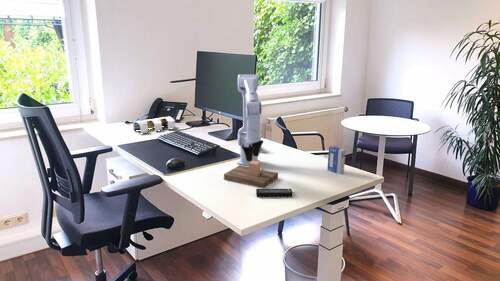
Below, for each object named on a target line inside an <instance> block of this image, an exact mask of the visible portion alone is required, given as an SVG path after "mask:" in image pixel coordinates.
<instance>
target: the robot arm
mask: <svg viewBox="0 0 500 281" xmlns="http://www.w3.org/2000/svg"><path fill="white" fill-rule="evenodd" d="M259 80H260V78H259V75H258V74H238V75H237V92H239V93H241V96H242V119H243V120H242V123H243V126H241V128H239V129H238V130H237V145H238V146H240V149H239V150H240V158H239V159H240V160H239V161H237V162H236V164H238V165H241V166H246V167H249V163H250V162H251V161H258V162H260V160H259V159H258V158H259V156H260V152H261V148H262V145H263V143H264V140H262V134H260V133H261V132H260V130H261V129H260V128H261V126H260V125H261V115H262V106H263V105H262V102H261V101H260V100H259V99H260V98H259V95H258V93H257V90H258V89H259V82H260V81H259Z"/></svg>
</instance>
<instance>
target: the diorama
mask: <svg viewBox="0 0 500 281" xmlns="http://www.w3.org/2000/svg"><path fill="white" fill-rule="evenodd" d="M138 118H139V120H136V121H134V122H133V123H132V127H133V128H132V129H133V132H134V131H136V130H141V131H140V134H141V133H147V132H148V133H149V130H148V128H154V127H155V129H154V131H158V130H161V131H162V130H163V128H162V126H168V127H167V130H168V129H170V128H174V129H175V128H176V120H175V119H174V118H173V117H171V116H162V117H158V118H157V117H156V118H151V119H146V118H147V116H146V114H145V113H143V115H142V116H140V117H138ZM170 130H171V129H170ZM148 133H147V134H148ZM140 134H139V135H140ZM141 135H142V134H141Z"/></svg>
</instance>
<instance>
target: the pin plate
mask: <svg viewBox="0 0 500 281" xmlns="http://www.w3.org/2000/svg"><path fill="white" fill-rule="evenodd" d="M278 178H279V172H276V171H271V170H266V169H261V168H260V176H259V177H254V176H249V166H247V165H242V164H238V166H236V167H234V168H232V169H230V170H228V171H227V172H225V173H223V180H225V181H230V182H235V183H239V184H243V185H248V186H251V187H256V188H257V187H258V188H260V189H266V187H268V186H269V185H270V184H272V183H273V182H274V181H276V180H278Z"/></svg>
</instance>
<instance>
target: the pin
mask: <svg viewBox="0 0 500 281" xmlns="http://www.w3.org/2000/svg"><path fill="white" fill-rule="evenodd" d="M248 167H249V176H254V177H259V176H260V169H261V161H259V162H258V161H251V162H250V163H249V166H248Z"/></svg>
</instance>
